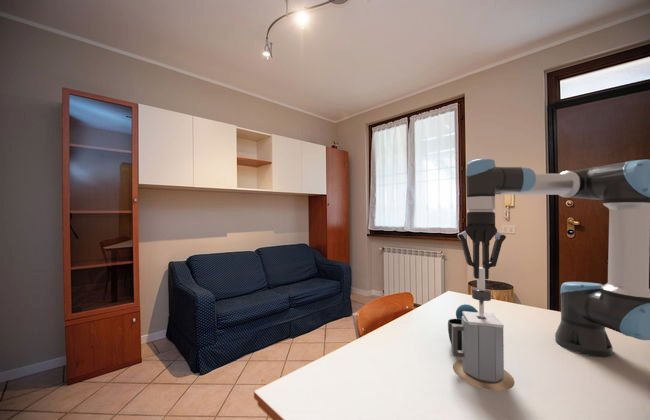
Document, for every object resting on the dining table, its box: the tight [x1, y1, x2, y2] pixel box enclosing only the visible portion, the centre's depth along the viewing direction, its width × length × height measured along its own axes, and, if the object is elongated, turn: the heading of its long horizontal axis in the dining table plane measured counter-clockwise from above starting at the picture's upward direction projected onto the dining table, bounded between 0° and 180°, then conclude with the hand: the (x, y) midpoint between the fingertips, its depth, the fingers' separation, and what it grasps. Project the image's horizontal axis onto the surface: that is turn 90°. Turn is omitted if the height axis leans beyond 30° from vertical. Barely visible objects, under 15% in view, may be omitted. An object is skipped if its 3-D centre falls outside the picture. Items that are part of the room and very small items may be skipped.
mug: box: [447, 318, 462, 351], centre depth 97 cm, size 8×12×10 cm
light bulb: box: [455, 303, 479, 319], centre depth 108 cm, size 8×8×12 cm
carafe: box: [451, 311, 505, 384], centre depth 82 cm, size 13×10×17 cm
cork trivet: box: [452, 358, 515, 392], centre depth 82 cm, size 16×16×1 cm
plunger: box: [471, 287, 492, 327], centre depth 82 cm, size 8×8×12 cm
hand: (481, 289), depth 82 cm, fingers closed
